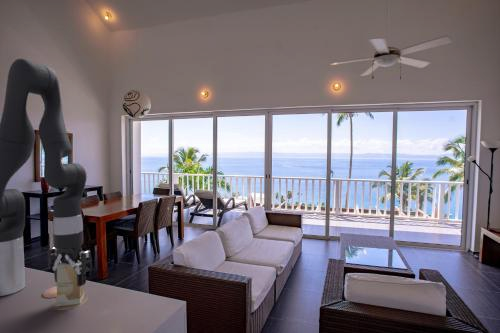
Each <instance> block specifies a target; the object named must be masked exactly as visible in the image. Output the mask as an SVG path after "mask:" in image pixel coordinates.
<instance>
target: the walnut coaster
mask: <svg viewBox="0 0 500 333" xmlns="http://www.w3.org/2000/svg"><path fill="white" fill-rule="evenodd" d="M88 300H89V296H87V294H86V295H85V294H84V298H83V300H82V301H81V303H80V304H74V305H65V306H57V301H56V302H54V304H53V305H52V308H53V309H54V310H57V311H68V310H72V309H75V308H78V307H80V306H83V305H84V304H85V303H87V301H88Z"/></svg>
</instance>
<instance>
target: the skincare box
mask: <svg viewBox="0 0 500 333" xmlns="http://www.w3.org/2000/svg"><path fill="white" fill-rule="evenodd" d="M77 263H79V260H78V262H77ZM77 263H76V264H77ZM79 268H80V269H82V268H81V265H79ZM77 274H78V273H77V272H76V270H75V269H73V268H72V267H71V265H70V264H66V263H62V262H60V263H59V264H58V265H57V283H56V286H57V297H56V302H57V306H65V305H74V304H80V303H81V301H82V300H83V298H84V295H85V284H84V285H82V286H77Z"/></svg>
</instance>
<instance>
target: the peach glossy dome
mask: <svg viewBox="0 0 500 333" xmlns="http://www.w3.org/2000/svg"><path fill="white" fill-rule="evenodd" d="M42 295H43V297H44V298H49V299H51V298H57V285H55V286H52V287H50V288H47V289H46V290H44V291H43V293H42Z"/></svg>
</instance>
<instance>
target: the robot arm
mask: <svg viewBox="0 0 500 333" xmlns="http://www.w3.org/2000/svg"><path fill="white" fill-rule="evenodd" d="M6 80H7V81H6V87H5V88H6V89H5V97H4V104H3V109H2V114H1V119H0V220H1V221H0V297H4V296H8V295H12V294H15V293H17V292H20V291H21V290H23V289H25V287H26V279H25V278H26V276H25V254H24V248H25V247H24V229H25V225H26V200H25V196H24V194H23V192H21V190H19V189H17V188H7V185H8V183H9V181H10V180H11V179H12V177H13V176H14V175H15V174H16V173H17V172H18V171H19V170H20V169H21V168H22V167H23V166H24V165H25V164H27V161H28V160H29V159H30V158H31V156H32V154H33V153H32V152H33V149H34V145H35V141H36V132H35V129H34V126H33V124H32V122H31V120H30V117H29V116H28V111H27V104H28V103H27V101H28V97H29V94H34V95H38V96H40V97H41V99H42V101H43V106H44V111H43V114H42V117H41V119H40V122H39V125H38V136H39V139H40V140H39V141H40V142H41V143H40V144H41V147H42V149H43V152H44V153H43V154H44V156H43V157H44V166H43V167H44V169H43V175H44V176H43V178H44V181H45V182H46V184H47V185H48V186H49V187H51V188H52V189H63V188H66V189H65V191H64V193H63V194H61V195H58V196H56V197H55V198H53V201H52V208H53V222H52V233H53V234H52V235H53V238H52V239H53V247H50V248H48V250H47V267H48V269H52V270H53V274H54V282H55V283H56V284H57V265H58V264H59V263H60V262H62V263H66V264H70V265H71V267H72V268H73V269H75V270H76V272H77V273H78V274H77V286H82V285H84V286H85V285H86V283H87V272H89V271H91V270H92V269H93V267H92V254H91V253H92V252H91V250H90V249H87V250H86V251H85V250H82V246H83V244H84V223H83V222H84V221H83V217H82V198H83V196H84V190H85V187H86V184H87V172H86V168H84V166H83V165H81V164H80V163H77V162H76V163H74V162H72V163H62V161H63V160H62V159H65V158H66V157H68V156H70V155H71V154H72V153H73V148H72V147H73V146H72V145H71V142H70V138H69V135H68V132H67V129H66V125H65V121H64V114H63V103H62V97H61V89H60V88H61V87H60V81H59V78H58V75H57V72H56V71H55V70H54V68H51V67H49V66H47V65H44V64H42V63H37V62H34V61H31V60H28V59H24V58H17V59H15V60H14V61H13V62H12V63H11V64H10V67H9V71H8V74H7V79H6ZM78 260H79V263H77V262H78ZM53 261H54V262H53ZM76 263H77V264H76ZM79 265H81V268H82V269H80V268H79Z"/></svg>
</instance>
